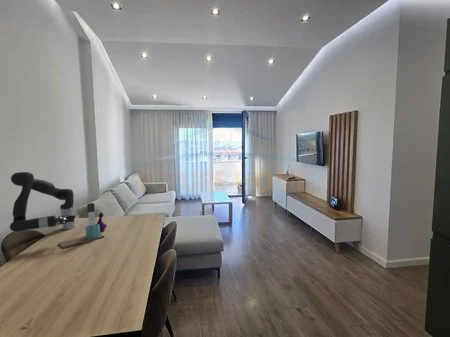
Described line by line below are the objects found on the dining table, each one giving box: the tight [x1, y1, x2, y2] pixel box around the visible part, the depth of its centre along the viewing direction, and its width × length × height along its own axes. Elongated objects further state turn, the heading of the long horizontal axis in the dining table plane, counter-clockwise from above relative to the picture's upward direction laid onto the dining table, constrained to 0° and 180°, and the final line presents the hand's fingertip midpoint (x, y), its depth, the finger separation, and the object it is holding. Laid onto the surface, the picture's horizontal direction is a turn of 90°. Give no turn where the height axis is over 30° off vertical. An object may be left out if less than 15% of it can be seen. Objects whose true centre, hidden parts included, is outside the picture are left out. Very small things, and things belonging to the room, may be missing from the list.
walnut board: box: [57, 233, 105, 250], centre depth 186 cm, size 12×27×1 cm, turn 138°
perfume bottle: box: [95, 208, 108, 233], centre depth 207 cm, size 8×8×18 cm
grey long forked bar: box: [86, 202, 96, 228], centre depth 191 cm, size 4×4×24 cm
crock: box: [84, 223, 101, 239], centre depth 192 cm, size 9×9×8 cm
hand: (74, 218), depth 185 cm, fingers open, 8 cm apart
